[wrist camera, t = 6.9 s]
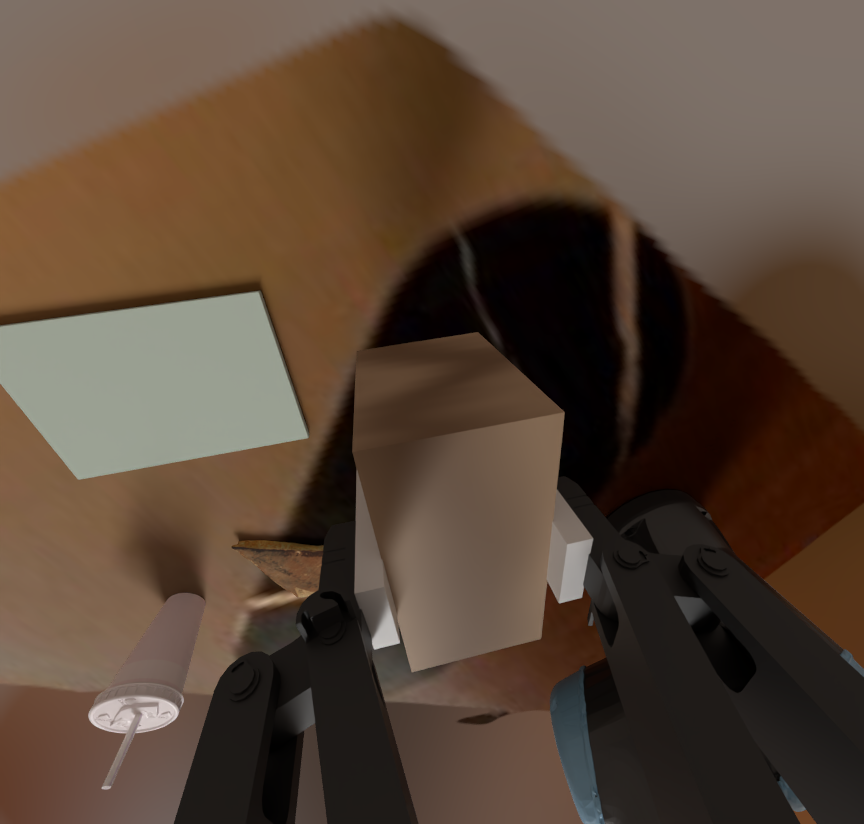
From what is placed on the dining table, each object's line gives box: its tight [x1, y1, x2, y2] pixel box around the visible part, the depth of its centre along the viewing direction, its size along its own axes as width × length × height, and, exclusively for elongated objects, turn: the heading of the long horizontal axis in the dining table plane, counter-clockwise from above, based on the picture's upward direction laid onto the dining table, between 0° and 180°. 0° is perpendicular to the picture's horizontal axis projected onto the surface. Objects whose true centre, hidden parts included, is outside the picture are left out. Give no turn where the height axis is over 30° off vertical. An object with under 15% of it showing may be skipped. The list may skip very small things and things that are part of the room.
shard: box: [232, 540, 324, 597], centre depth 36 cm, size 11×8×2 cm
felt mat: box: [0, 290, 309, 480], centre depth 25 cm, size 18×12×1 cm, turn 96°
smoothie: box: [88, 593, 205, 789], centre depth 31 cm, size 6×6×14 cm
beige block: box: [352, 332, 565, 672], centre depth 13 cm, size 5×10×7 cm, turn 6°
